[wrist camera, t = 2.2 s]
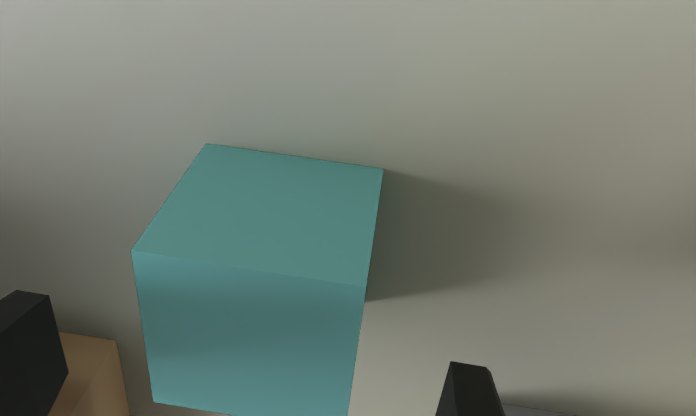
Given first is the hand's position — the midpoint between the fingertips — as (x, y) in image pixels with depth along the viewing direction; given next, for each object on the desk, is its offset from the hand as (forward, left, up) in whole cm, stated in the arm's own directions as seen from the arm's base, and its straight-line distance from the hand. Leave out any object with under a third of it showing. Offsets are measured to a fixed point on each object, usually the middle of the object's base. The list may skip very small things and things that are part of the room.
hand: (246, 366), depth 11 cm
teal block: (0, 0, -4) cm, 4 cm away
